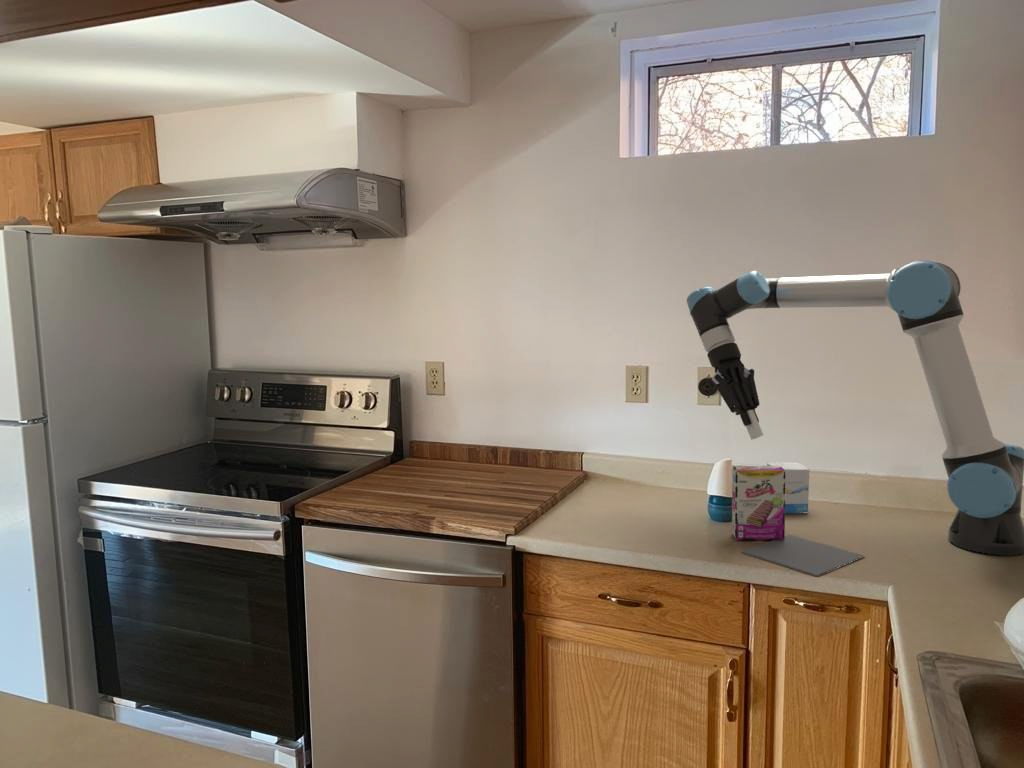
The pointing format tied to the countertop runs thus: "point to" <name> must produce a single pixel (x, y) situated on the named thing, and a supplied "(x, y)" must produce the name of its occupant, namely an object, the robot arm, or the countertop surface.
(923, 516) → the countertop surface
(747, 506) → the candy bar box
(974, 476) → the robot arm
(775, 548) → the mat
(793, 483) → the ink box
